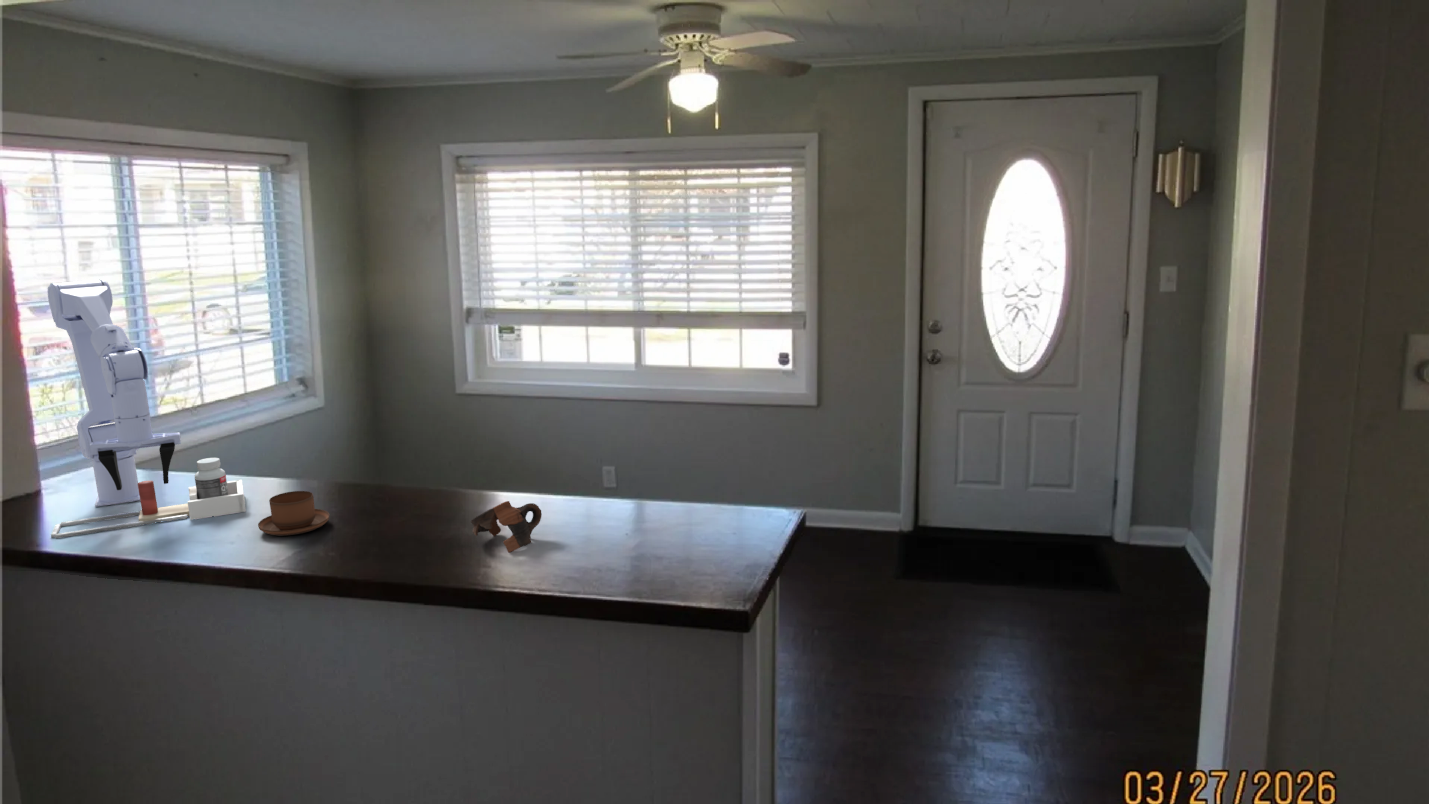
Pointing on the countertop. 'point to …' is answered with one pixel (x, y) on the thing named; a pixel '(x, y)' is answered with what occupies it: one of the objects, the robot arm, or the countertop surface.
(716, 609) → the countertop surface
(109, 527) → the track
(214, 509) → the frame
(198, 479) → the pill bottle
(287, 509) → the cup and saucer
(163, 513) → the red peg in tray
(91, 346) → the robot arm
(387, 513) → the countertop surface
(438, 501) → the countertop surface
